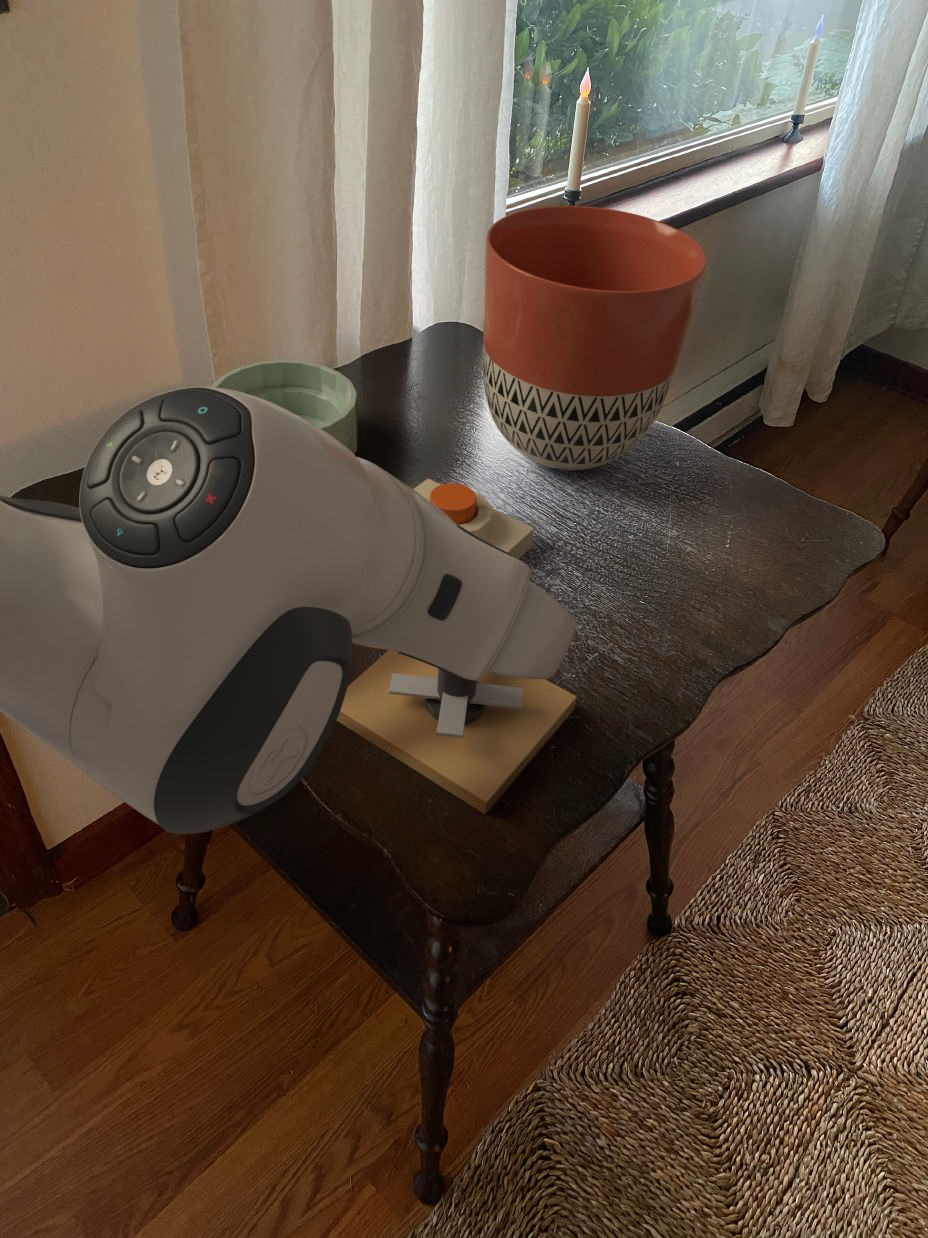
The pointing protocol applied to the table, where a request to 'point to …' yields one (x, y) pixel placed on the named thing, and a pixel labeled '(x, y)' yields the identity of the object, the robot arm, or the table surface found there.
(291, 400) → the processor bowl
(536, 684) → the cutting board
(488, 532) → the base
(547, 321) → the planter
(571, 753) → the table surface
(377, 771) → the table surface
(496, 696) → the blade
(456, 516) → the release button
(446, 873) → the table surface
